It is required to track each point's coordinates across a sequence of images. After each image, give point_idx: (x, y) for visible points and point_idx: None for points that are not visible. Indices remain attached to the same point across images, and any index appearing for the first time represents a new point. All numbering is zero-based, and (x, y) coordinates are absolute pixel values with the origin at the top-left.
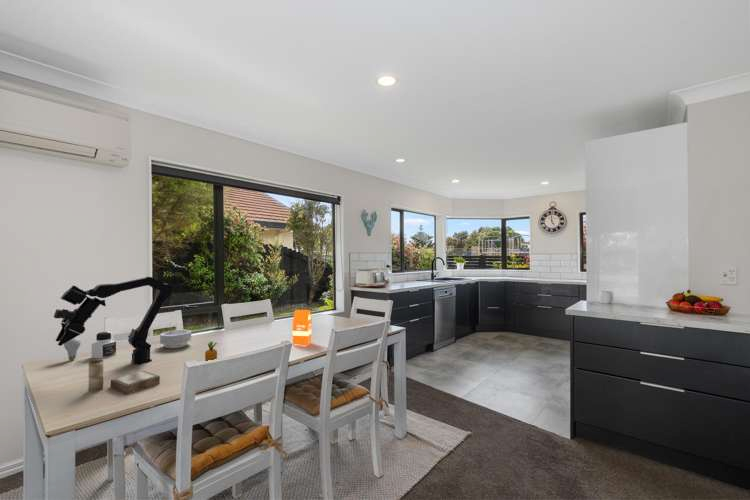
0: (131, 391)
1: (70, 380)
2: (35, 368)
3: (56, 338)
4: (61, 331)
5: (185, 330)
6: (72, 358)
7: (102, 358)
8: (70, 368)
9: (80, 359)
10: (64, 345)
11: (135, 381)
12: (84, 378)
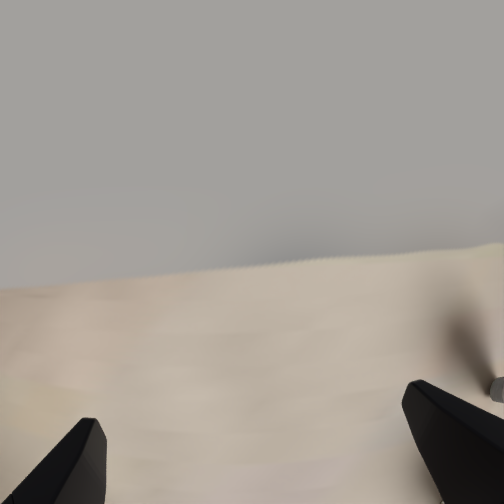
0: None
1: (134, 420)
2: (459, 269)
3: (435, 390)
4: (498, 459)
5: None
6: (493, 393)
7: (441, 502)
8: (379, 412)
9: None
10: None
11: None
12: (129, 471)
